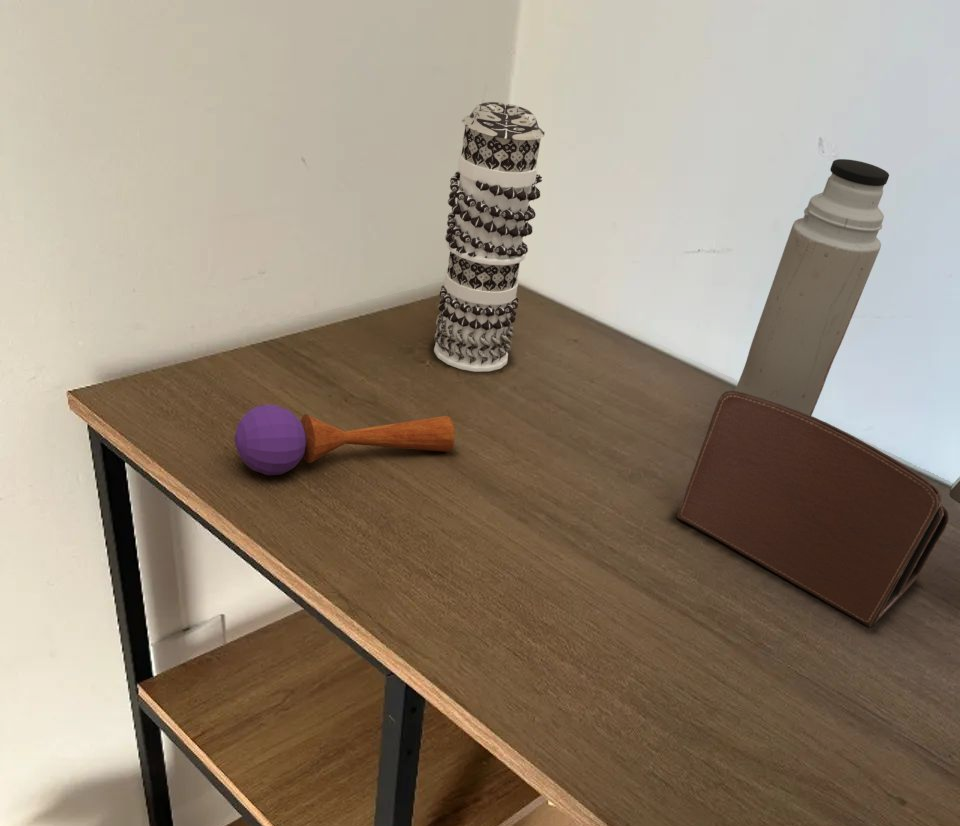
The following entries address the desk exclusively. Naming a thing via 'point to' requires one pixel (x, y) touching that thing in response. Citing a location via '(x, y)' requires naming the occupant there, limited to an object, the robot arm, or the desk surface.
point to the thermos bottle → (816, 288)
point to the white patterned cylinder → (487, 235)
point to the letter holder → (813, 505)
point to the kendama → (325, 438)
